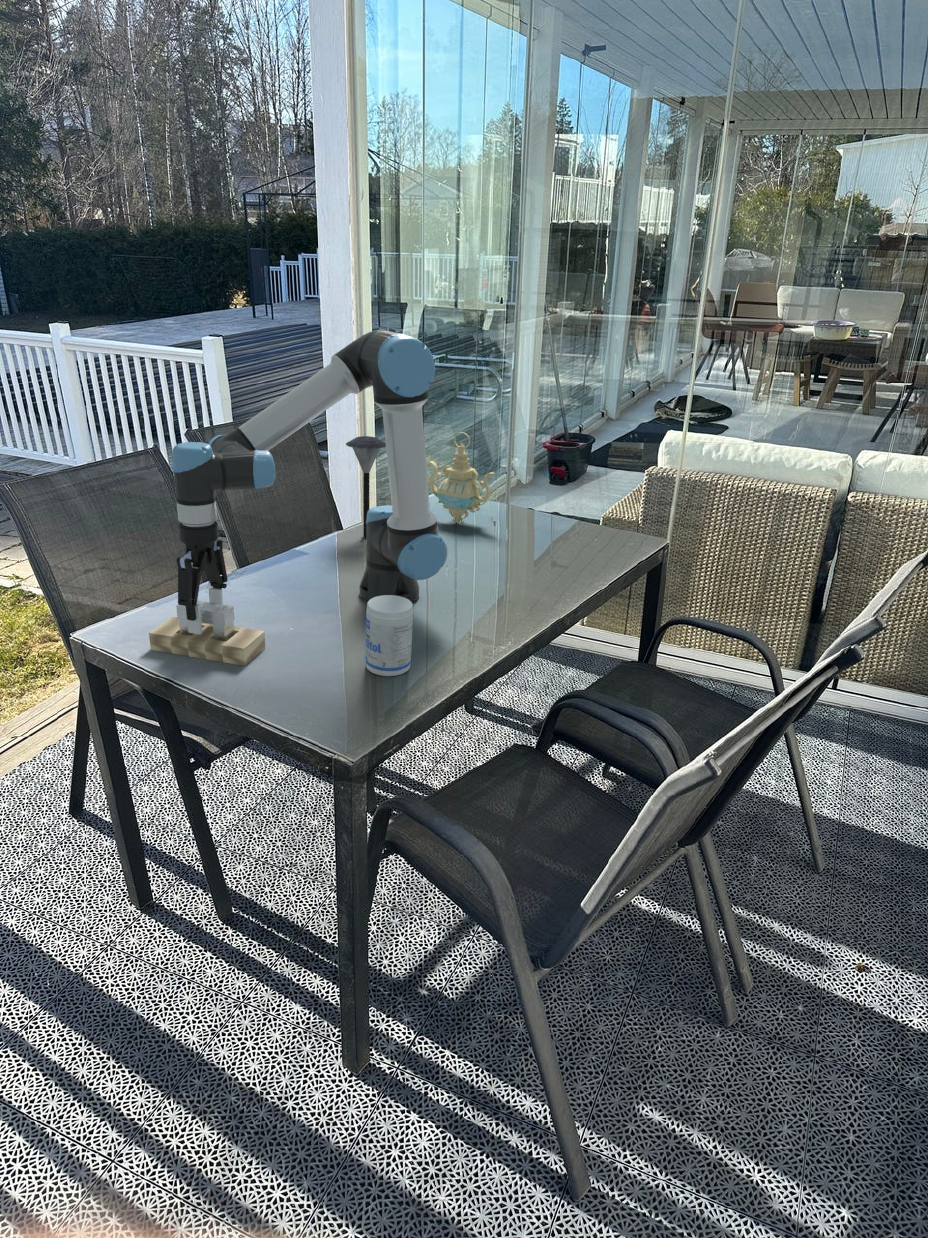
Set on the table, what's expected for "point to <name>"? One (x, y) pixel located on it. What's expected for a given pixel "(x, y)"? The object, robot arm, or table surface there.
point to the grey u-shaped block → (211, 619)
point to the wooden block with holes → (208, 643)
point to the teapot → (460, 485)
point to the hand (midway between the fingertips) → (206, 624)
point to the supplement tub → (388, 635)
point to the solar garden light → (366, 465)
